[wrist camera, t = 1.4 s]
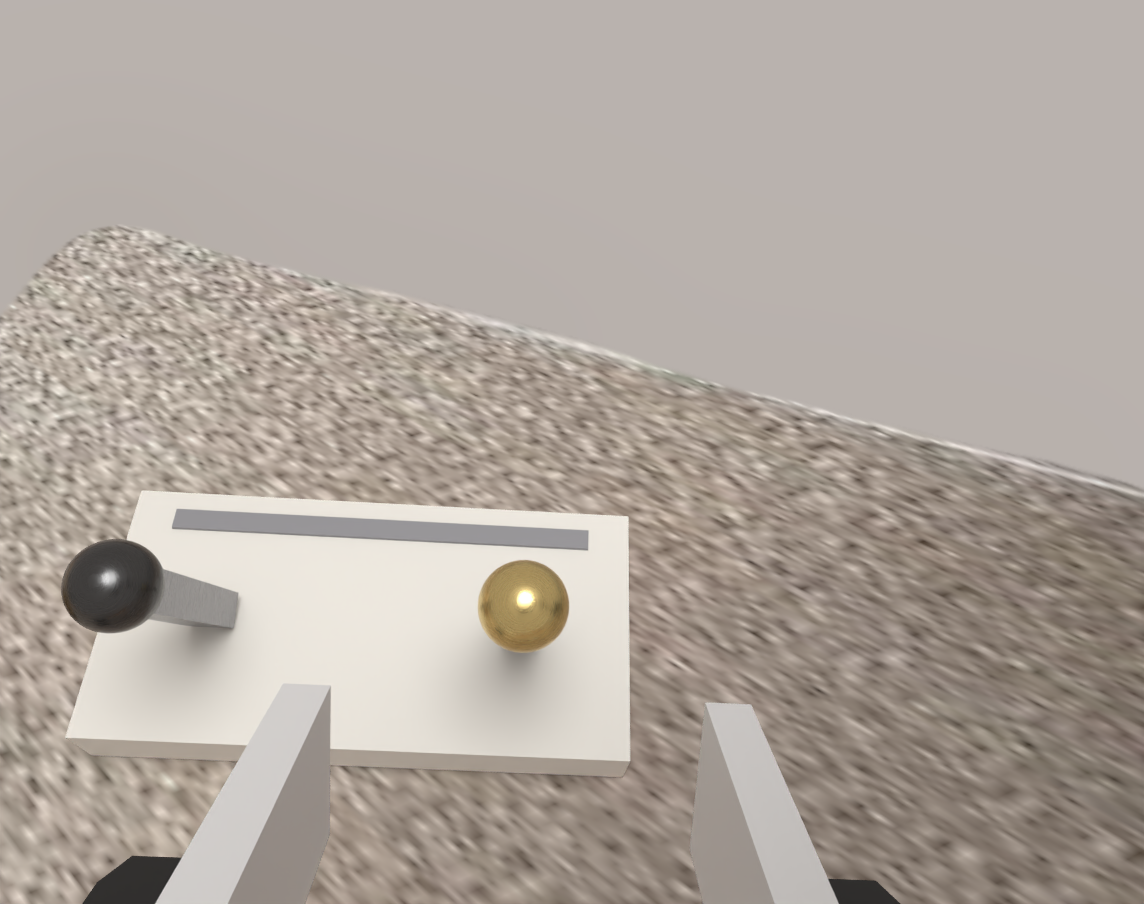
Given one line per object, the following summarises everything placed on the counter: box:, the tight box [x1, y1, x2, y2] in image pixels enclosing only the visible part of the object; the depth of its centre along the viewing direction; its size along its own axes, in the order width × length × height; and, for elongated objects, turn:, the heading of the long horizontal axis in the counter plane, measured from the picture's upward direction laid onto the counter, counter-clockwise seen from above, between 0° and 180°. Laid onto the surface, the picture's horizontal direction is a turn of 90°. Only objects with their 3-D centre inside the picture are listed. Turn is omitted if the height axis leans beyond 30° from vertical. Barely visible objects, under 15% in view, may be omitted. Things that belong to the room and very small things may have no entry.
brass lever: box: [478, 560, 569, 653], centre depth 37 cm, size 3×3×12 cm
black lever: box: [61, 539, 238, 634], centre depth 36 cm, size 3×3×12 cm
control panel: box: [65, 491, 630, 777], centre depth 44 cm, size 12×24×3 cm, turn 88°
